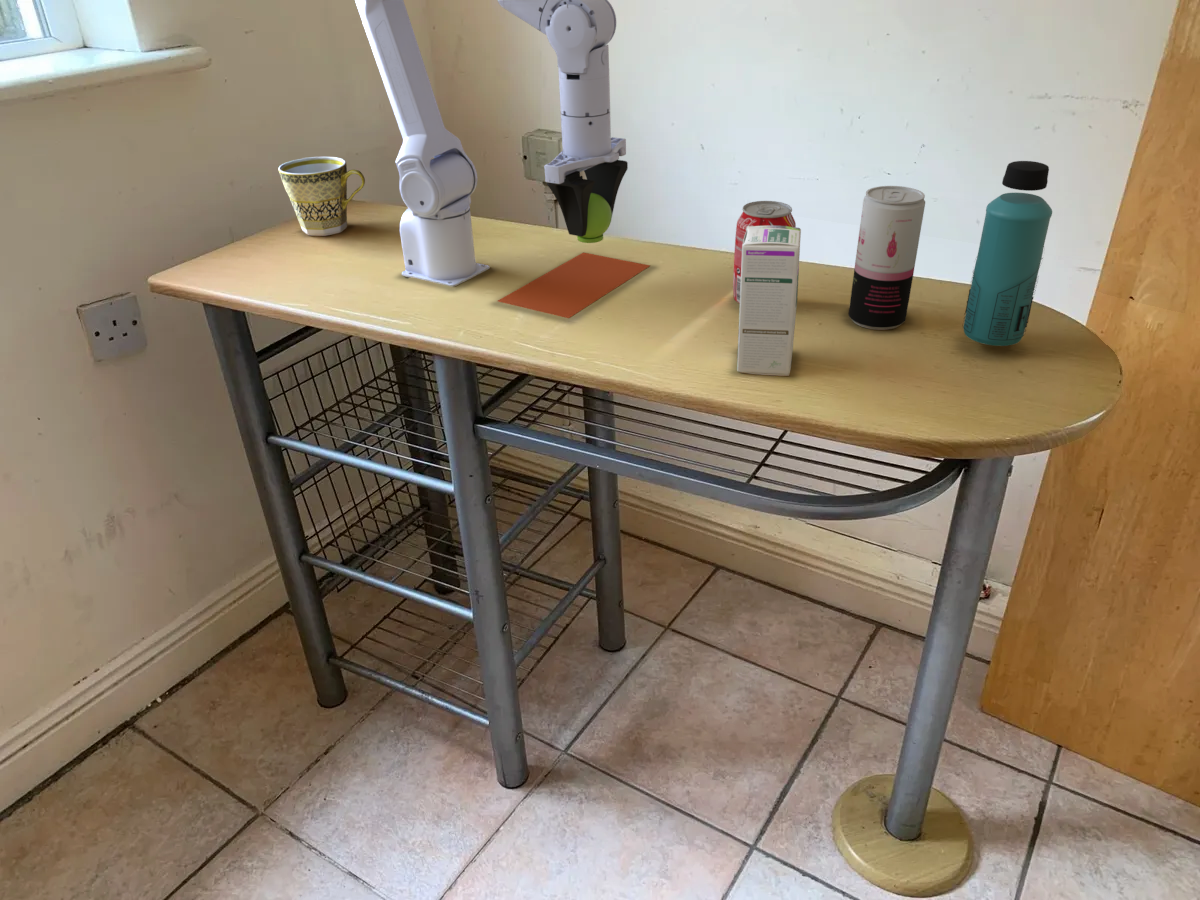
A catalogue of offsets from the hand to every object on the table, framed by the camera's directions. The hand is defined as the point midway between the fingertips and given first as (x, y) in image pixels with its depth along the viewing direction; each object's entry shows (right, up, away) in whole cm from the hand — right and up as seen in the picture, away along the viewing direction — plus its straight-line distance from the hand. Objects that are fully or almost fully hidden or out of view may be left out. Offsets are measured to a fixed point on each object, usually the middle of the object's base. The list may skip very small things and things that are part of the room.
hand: (589, 227), depth 110 cm
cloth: (-2, -6, +8) cm, 10 cm away
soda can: (+21, -9, +2) cm, 23 cm away
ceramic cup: (-41, +7, +31) cm, 51 cm away
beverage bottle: (+45, -16, -10) cm, 48 cm away
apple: (0, -1, +1) cm, 1 cm away
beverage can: (+34, -12, -4) cm, 36 cm away
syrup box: (+19, -18, -12) cm, 29 cm away
